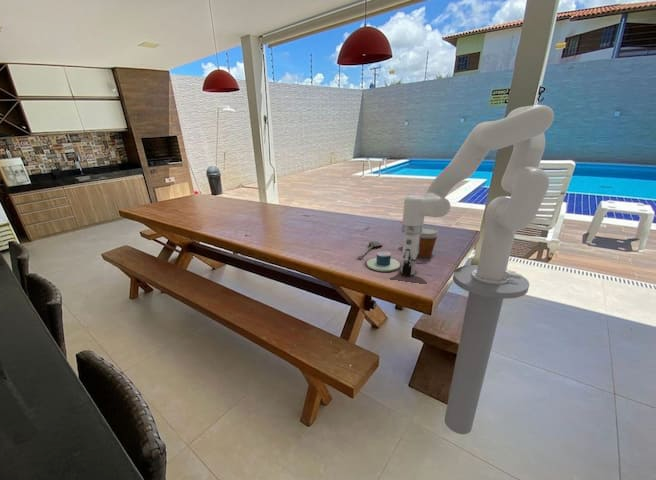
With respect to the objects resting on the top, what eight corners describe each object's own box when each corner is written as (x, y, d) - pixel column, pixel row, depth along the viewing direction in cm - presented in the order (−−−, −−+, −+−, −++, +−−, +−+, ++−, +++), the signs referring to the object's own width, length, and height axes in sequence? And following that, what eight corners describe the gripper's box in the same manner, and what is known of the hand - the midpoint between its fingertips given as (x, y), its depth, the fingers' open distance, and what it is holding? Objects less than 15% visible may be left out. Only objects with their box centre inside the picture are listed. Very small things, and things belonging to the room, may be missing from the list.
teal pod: (391, 261, 133) (392, 252, 131) (388, 266, 129) (389, 256, 127) (378, 259, 136) (378, 250, 134) (374, 264, 131) (375, 255, 129)
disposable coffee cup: (426, 261, 134) (430, 235, 128) (408, 254, 141) (411, 230, 136) (439, 256, 138) (443, 230, 133) (421, 249, 145) (424, 225, 140)
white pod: (415, 270, 125) (416, 261, 123) (413, 275, 121) (414, 265, 119) (402, 269, 127) (403, 259, 126) (399, 273, 123) (400, 263, 122)
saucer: (403, 261, 135) (403, 259, 134) (396, 273, 124) (396, 271, 123) (371, 257, 141) (371, 255, 141) (362, 268, 130) (362, 266, 130)
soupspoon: (384, 246, 154) (371, 244, 157) (384, 240, 152) (372, 238, 156) (366, 260, 137) (352, 258, 141) (366, 253, 136) (352, 251, 140)
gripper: (419, 236, 108) (413, 281, 115) (426, 223, 122) (421, 264, 129) (397, 234, 112) (393, 278, 119) (406, 222, 126) (402, 262, 133)
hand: (408, 270), depth 124 cm, fingers open, 6 cm apart
